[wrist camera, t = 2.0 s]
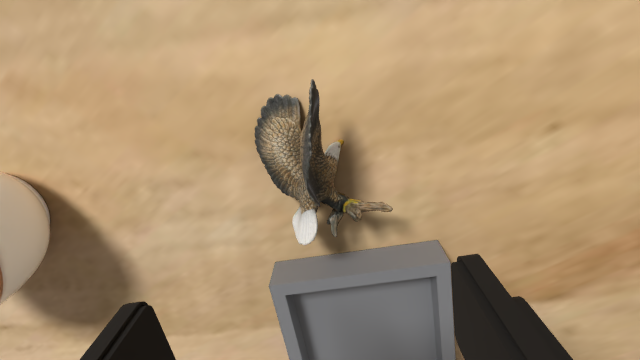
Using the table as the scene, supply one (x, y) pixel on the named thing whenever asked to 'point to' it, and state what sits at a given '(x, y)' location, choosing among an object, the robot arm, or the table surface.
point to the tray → (367, 304)
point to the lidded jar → (20, 233)
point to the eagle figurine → (304, 164)
